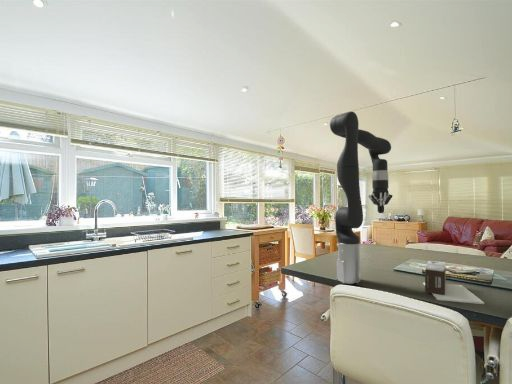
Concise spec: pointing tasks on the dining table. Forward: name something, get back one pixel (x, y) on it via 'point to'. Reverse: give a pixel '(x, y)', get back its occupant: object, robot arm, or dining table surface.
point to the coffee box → (435, 277)
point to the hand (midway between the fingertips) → (380, 213)
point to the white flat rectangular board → (457, 295)
